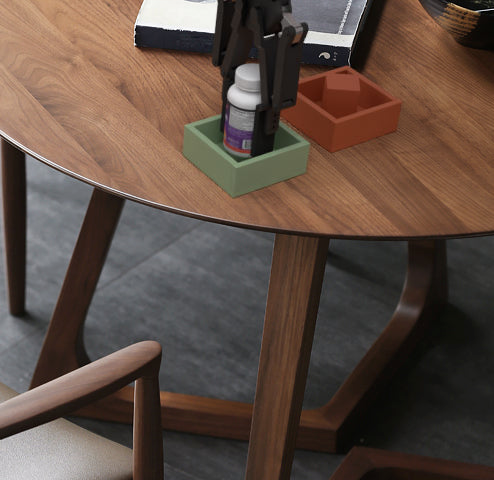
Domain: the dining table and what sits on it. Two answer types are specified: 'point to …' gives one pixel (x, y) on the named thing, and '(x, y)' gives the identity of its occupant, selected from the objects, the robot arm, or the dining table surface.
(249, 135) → the pill bottle
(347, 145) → the terracotta bin
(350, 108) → the red block
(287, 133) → the sage bin
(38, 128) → the dining table surface
